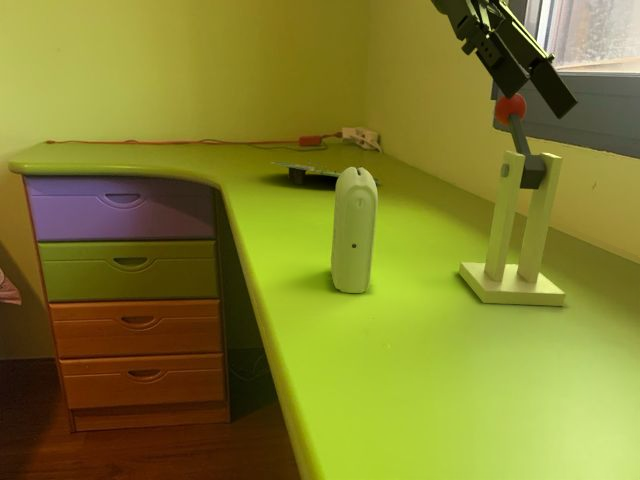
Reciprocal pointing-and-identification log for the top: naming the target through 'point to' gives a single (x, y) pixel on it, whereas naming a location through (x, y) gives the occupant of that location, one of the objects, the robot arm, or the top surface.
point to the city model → (299, 170)
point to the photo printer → (353, 230)
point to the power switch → (523, 279)
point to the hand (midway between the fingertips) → (544, 100)
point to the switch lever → (520, 139)
